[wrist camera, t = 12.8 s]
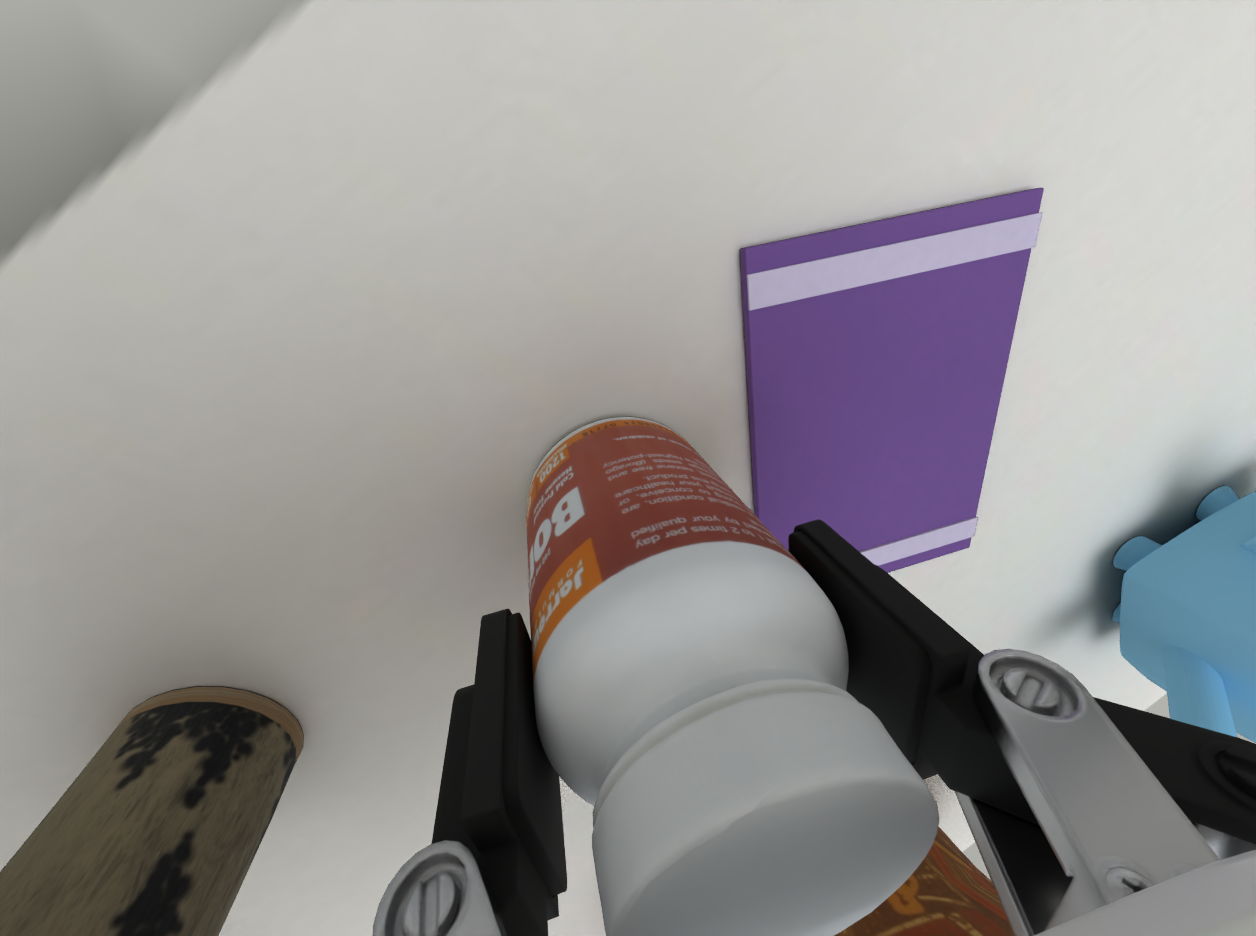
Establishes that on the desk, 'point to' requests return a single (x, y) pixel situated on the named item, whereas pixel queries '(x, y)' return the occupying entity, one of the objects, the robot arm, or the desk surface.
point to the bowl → (938, 900)
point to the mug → (157, 821)
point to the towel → (883, 372)
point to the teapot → (1197, 615)
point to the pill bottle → (705, 702)
